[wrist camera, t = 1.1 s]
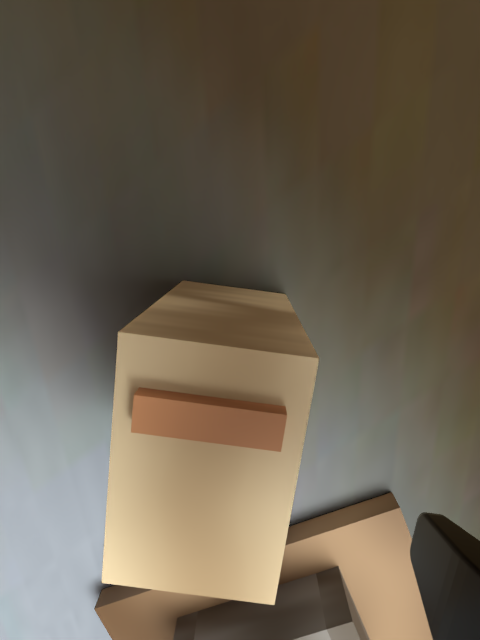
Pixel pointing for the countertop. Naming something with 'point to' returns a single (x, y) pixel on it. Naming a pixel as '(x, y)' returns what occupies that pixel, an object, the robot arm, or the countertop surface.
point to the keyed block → (207, 442)
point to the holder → (298, 589)
